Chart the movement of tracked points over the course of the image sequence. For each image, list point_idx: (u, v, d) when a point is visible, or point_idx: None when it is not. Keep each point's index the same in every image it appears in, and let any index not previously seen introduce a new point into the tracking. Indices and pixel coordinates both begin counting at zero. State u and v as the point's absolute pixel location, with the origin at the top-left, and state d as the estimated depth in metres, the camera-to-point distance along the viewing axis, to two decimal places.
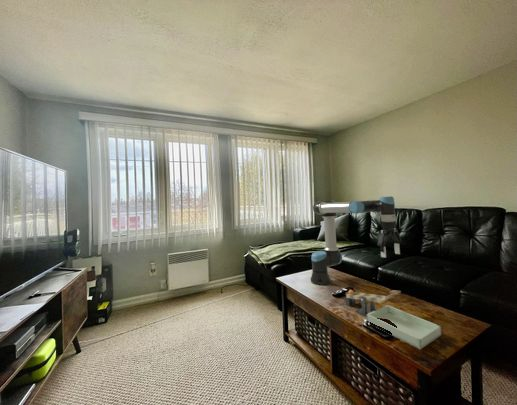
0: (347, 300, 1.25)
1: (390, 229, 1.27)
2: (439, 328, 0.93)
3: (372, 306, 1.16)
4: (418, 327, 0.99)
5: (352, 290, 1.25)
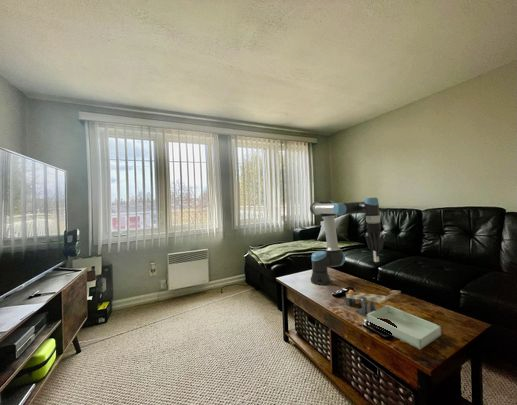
0: (347, 300, 1.25)
1: (372, 231, 1.26)
2: (439, 328, 0.93)
3: (372, 306, 1.16)
4: (418, 327, 0.99)
5: (352, 290, 1.25)
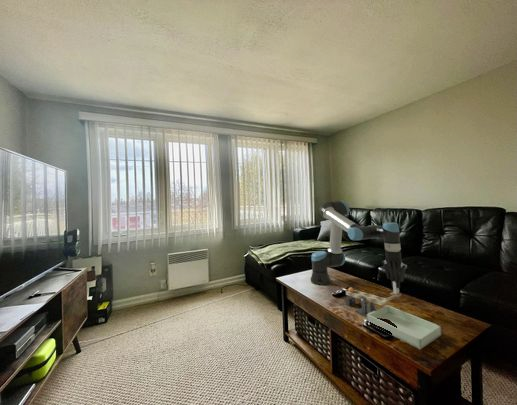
0: (347, 300, 1.25)
1: (391, 259, 1.15)
2: (439, 328, 0.93)
3: (372, 306, 1.16)
4: (418, 327, 0.99)
5: (352, 288, 1.24)
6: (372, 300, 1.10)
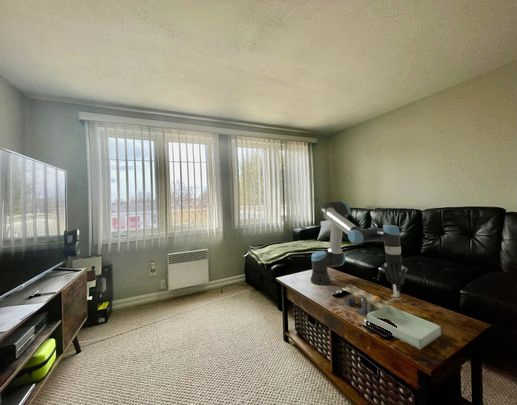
0: (347, 300, 1.25)
1: (392, 262, 1.15)
2: (439, 328, 0.93)
3: (372, 306, 1.16)
4: (418, 327, 0.99)
5: None
6: (372, 302, 1.10)
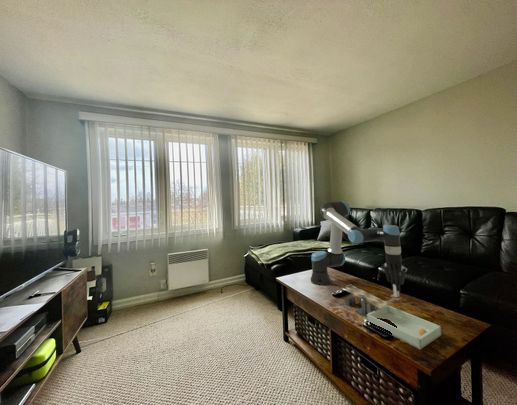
0: (347, 300, 1.25)
1: (392, 262, 1.15)
2: (439, 328, 0.93)
3: (372, 306, 1.16)
4: (418, 327, 0.99)
5: (420, 329, 0.93)
6: (372, 302, 1.10)
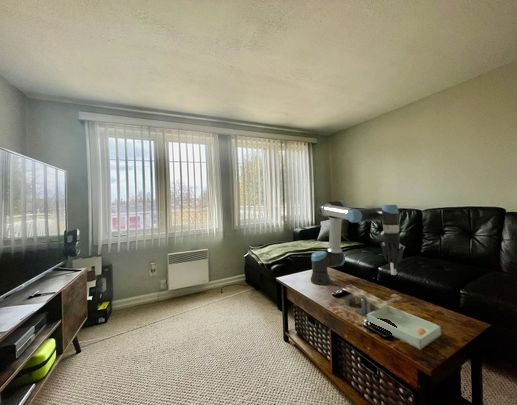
0: (347, 300, 1.25)
1: (390, 241, 1.15)
2: (439, 328, 0.93)
3: (372, 306, 1.16)
4: (418, 327, 0.99)
5: (418, 329, 0.94)
6: (372, 302, 1.10)
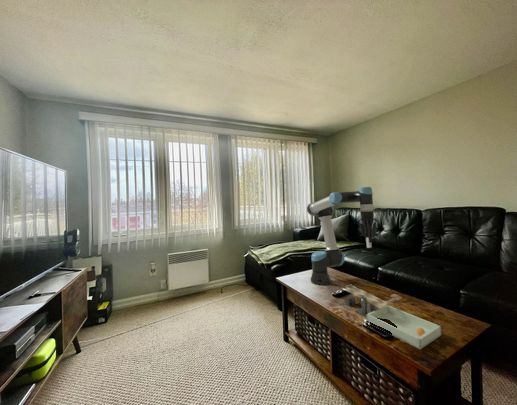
0: (347, 300, 1.25)
1: (365, 218, 1.33)
2: (439, 328, 0.93)
3: (372, 306, 1.16)
4: (418, 327, 0.99)
5: (417, 329, 0.94)
6: (372, 302, 1.10)
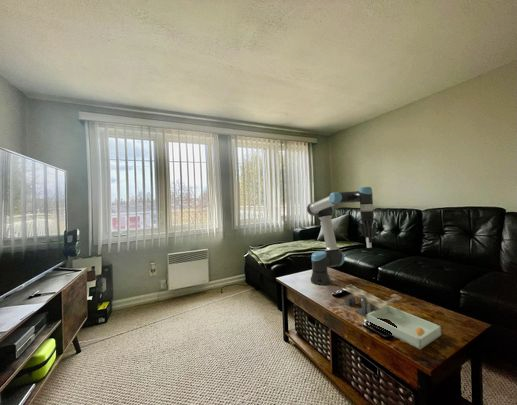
0: (347, 300, 1.25)
1: (365, 218, 1.33)
2: (439, 328, 0.93)
3: (372, 306, 1.16)
4: None
5: None
6: (372, 302, 1.10)
